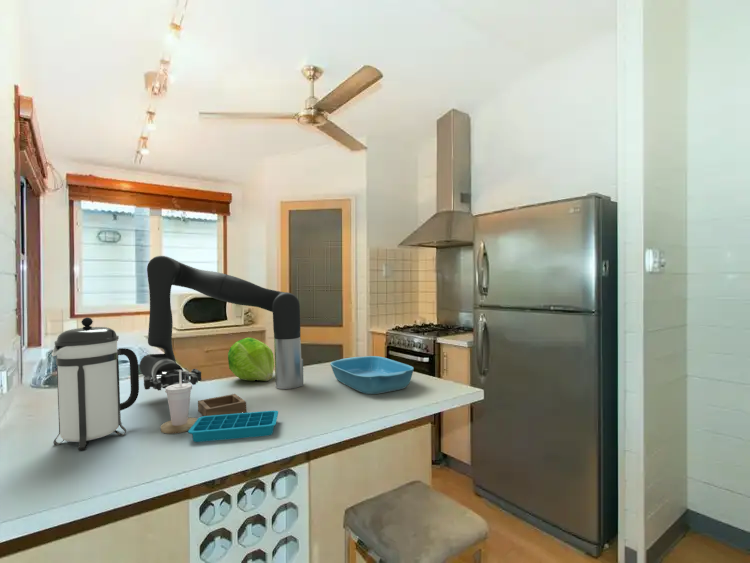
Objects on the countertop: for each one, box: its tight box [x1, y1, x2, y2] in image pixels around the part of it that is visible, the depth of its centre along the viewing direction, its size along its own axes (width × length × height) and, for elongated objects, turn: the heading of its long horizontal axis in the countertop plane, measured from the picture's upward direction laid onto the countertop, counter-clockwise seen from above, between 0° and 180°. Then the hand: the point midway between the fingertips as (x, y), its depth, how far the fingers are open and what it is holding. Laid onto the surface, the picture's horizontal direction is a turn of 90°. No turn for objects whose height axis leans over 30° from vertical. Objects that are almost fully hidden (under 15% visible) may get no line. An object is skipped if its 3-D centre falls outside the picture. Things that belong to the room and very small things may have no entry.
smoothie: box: [164, 370, 193, 426], centre depth 107 cm, size 6×6×14 cm
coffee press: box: [51, 317, 140, 452], centre depth 101 cm, size 17×16×30 cm
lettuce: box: [227, 337, 275, 382], centre depth 156 cm, size 17×20×16 cm
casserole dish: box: [329, 355, 414, 395], centre depth 146 cm, size 37×22×7 cm, turn 28°
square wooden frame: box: [197, 393, 248, 417], centre depth 119 cm, size 11×11×3 cm
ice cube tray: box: [187, 410, 279, 443], centre depth 103 cm, size 12×20×3 cm, turn 100°
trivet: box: [160, 416, 198, 435], centre depth 107 cm, size 9×9×1 cm
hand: (177, 383), depth 109 cm, fingers open, 8 cm apart
